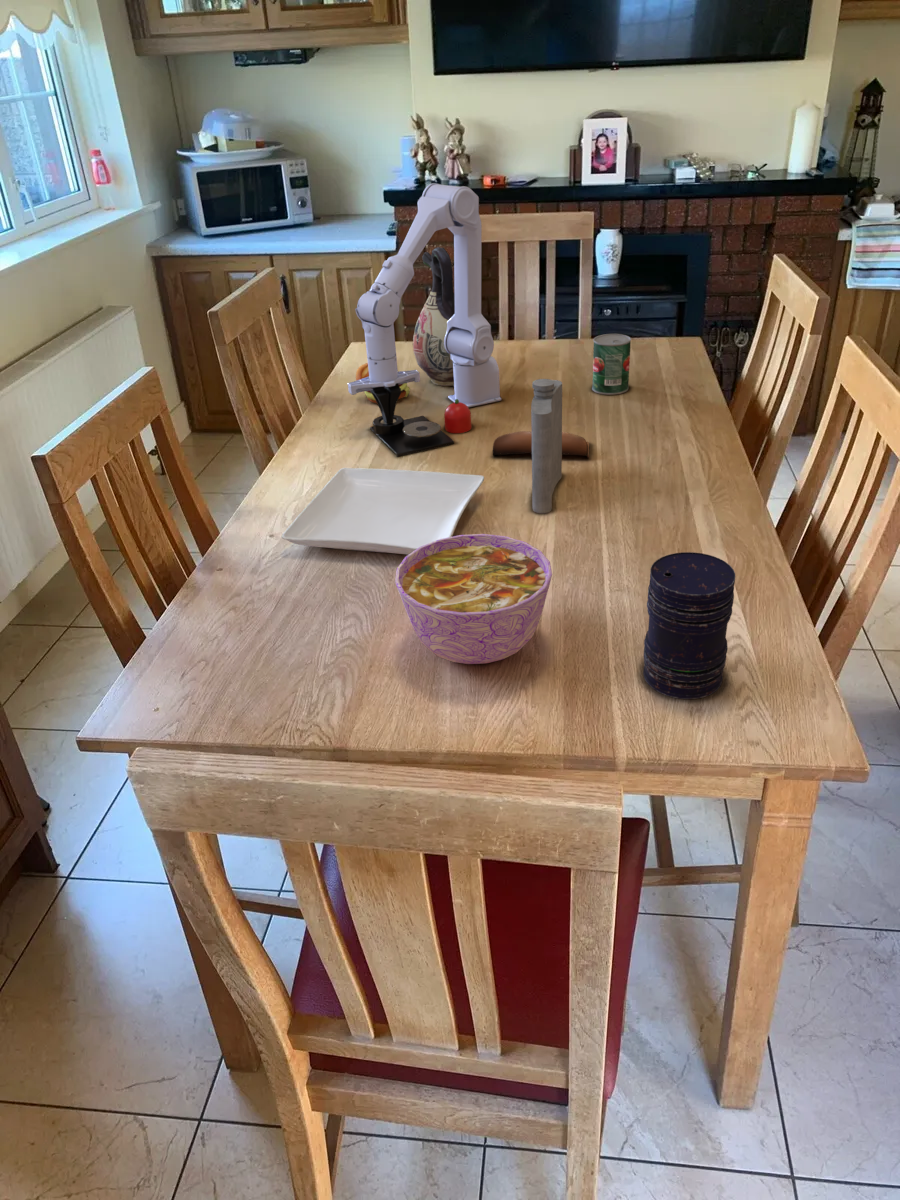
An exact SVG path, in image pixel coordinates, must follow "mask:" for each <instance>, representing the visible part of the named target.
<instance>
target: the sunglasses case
mask: <svg viewBox="0 0 900 1200" xmlns="http://www.w3.org/2000/svg"><path fill="white" fill-rule="evenodd" d="M517 454H519V455H523V454H531V455H532V431H531V430H529V431H526V430H522V431H515V432H509V433H505V434H503V435H500V436H497V437H496V438H495V439H494V441H493V444H492V456H493V457H494V456H495V455H497V456H500V455H504V456H505V455H517ZM562 455H563V456H564V455H565V456H567V455H568V456H582V457H583V456H586V458H588V459H589V458H590V442H589V441H587V440H586V439H585V438H584V437H582V436H581V435H577V434H575V433H571V432H566V431H562Z"/></svg>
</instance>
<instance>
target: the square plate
mask: <svg viewBox="0 0 900 1200" xmlns="http://www.w3.org/2000/svg"><path fill="white" fill-rule="evenodd" d="M484 481H485V476H484V475H481V474H468V473H455V472H442V471H428V470H427V471H426V470H409V469H390V468H367V467H365V468H363V467H342V468H339V470H338V471H337V472H336V473H335V474H334V475H333V476H332V477H331V478H330V479H329V480H328V482H327V483H326V484H325V485H324V486H323V487H322V488H321V490H320V491H319V492H317V494H316V495H315V496H314V497H313V498H312V500H310V502H309V503H308V504H307V505H306V506H305V508H303V510H302V511H301V512H300V513H299V514H298V515H297V516H296V518H294V520H293V521H292V522H291V524H289V525H288V527H287V528H286V529H285V530H284V531H283V533H282V535H281V539H283V540H286V541H288V542H290V543H292V544H295V545H299V546H304V547H316V548H327V549H333V550H334V549H335V550H346V551H347V550H348V551H362V552H371V553H375V552H376V553H386V554H398V555H409V554H410V553H412V552H413V551H415V550H416V549H418V548H419V547H421V546H424V545H426V544H429V543H431V542H434V541H436V540H439V539H444V538H449V537H453V535H454V532H455V530H456V528H457V526H458V523H459V521H460V519H461V517H462V515H463V513H464V512H465V509H466V508H467V506H468V504H469V503H470V502H471V500H472V499H473V498H474V496H475V495H476V493H477V491H478V490H479V489H480V487H481V486H482V484H483V483H484Z"/></svg>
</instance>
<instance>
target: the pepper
mask: <svg viewBox="0 0 900 1200" xmlns="http://www.w3.org/2000/svg"><path fill="white" fill-rule="evenodd" d="M443 413H444V414H443V419H444V420H443V421H444V430H445V431H446V432H447V433H451V434H463V433H468V432H469V431H471V429H472V414H471V413H472V412H471V410H470V407H467V406H466V405H465V404H463V403H461V402H459V400H458V399H455V402H452V403H449V404H448V405H447V407H446V408H445V410H444V412H443Z"/></svg>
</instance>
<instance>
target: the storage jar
mask: <svg viewBox="0 0 900 1200" xmlns="http://www.w3.org/2000/svg"><path fill="white" fill-rule="evenodd" d="M649 570H650V572H649V585H648V588H647V601H646V609H647V614H648V629H647V631H646V633H645V637H644V639H643V645H644V647H643V664H644V665H643V670H642V671H643V672H642V673H643V678H644V681H645V682H646V684H647V685H648V686H649V687H651V688H652V689H653V690H654V691H655V692H657V693H659V694H661V695H663V696H666V697H669V698H674V699H680V700H696V699H697V700H698V699H702V698H706V697H708V696H710V695H713V694H714V693H715V692H717V691H718V690H719V689H720V687H721V685H722V683H723V678H724V677H723V676H724V670H725V667H726V663H727V662H726V661H727V653H728V640H727V631H728V624H729V622H730V620H731V616H732V615H733V605H734V599H735V585H736V572H735V570H734V568H733V567H732V565H730V564H729V563H728V562H726V560H723V559H721V558H720V557H716V556H715V555H711V554H707V553H702V552H694V551H693V552H692V551H685V552H683V551H682V552H674V553H669V554H667V555H663V556H661V557H659V558H658V559H656V560H655V561H654V562H653V564H651V566H650V569H649Z"/></svg>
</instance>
